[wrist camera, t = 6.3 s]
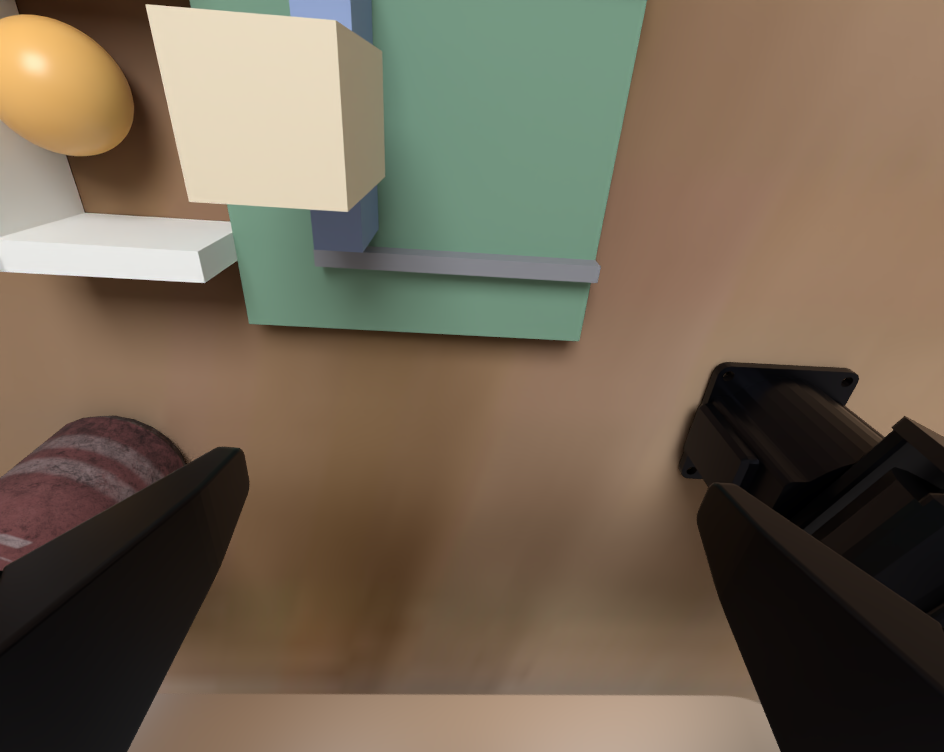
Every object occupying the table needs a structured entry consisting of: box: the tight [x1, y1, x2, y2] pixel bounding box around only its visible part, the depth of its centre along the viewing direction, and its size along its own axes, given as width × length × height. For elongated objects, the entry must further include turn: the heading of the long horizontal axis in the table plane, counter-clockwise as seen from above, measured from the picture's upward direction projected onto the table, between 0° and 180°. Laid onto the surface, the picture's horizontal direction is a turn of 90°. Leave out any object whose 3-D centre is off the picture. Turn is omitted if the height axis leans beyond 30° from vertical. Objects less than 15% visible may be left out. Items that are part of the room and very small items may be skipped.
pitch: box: [190, 0, 647, 341], centre depth 15 cm, size 13×15×2 cm
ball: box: [0, 14, 134, 156], centre depth 14 cm, size 4×4×4 cm
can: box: [0, 416, 186, 571], centre depth 17 cm, size 6×6×14 cm
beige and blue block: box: [145, 0, 385, 253], centre depth 11 cm, size 3×7×8 cm, turn 176°
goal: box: [0, 0, 237, 283], centre depth 14 cm, size 7×10×4 cm
